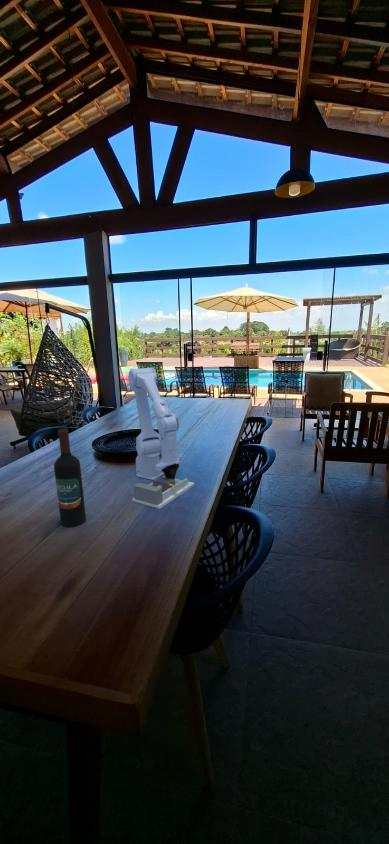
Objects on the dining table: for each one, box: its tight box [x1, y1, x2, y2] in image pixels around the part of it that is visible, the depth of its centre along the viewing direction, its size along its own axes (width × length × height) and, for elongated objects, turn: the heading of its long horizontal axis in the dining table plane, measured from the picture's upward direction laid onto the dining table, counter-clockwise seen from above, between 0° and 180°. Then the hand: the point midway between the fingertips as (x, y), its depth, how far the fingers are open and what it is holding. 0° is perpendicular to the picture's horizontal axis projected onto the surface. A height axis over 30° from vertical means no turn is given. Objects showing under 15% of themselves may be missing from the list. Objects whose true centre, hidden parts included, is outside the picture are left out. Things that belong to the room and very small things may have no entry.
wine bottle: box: [53, 428, 87, 528], centre depth 112 cm, size 8×8×30 cm
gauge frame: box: [131, 475, 195, 509], centre depth 134 cm, size 12×22×6 cm, turn 148°
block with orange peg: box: [152, 475, 175, 492], centre depth 132 cm, size 9×7×4 cm
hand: (170, 483), depth 137 cm, fingers closed
